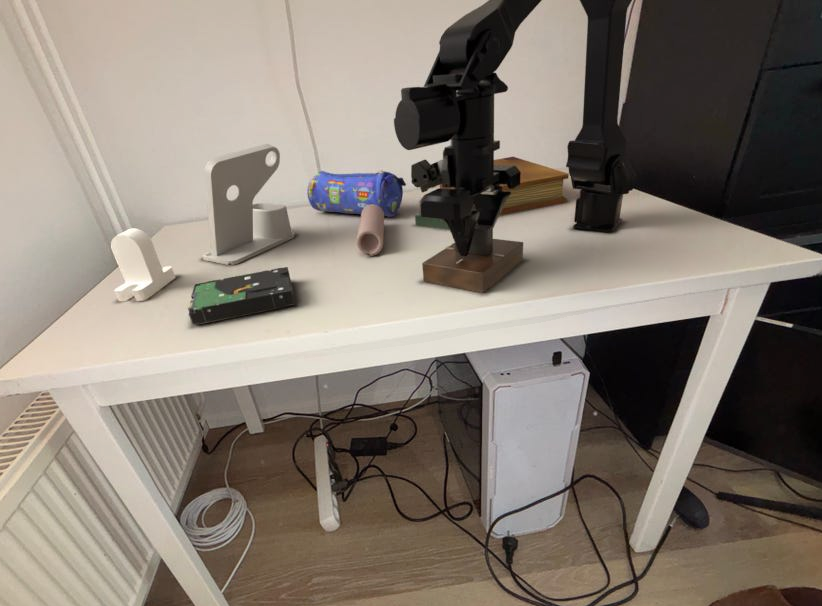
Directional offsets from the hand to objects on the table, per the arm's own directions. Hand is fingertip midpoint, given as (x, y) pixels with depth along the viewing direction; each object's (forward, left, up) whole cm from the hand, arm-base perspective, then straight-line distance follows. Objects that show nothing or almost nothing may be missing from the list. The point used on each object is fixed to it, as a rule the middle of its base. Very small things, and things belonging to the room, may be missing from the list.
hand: (473, 248), depth 73 cm
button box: (+17, -20, -4) cm, 26 cm away
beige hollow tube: (+25, -6, -4) cm, 26 cm away
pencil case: (+40, -19, -4) cm, 44 cm away
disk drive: (+26, +24, -4) cm, 36 cm away
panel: (0, 0, -4) cm, 4 cm away
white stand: (+48, +28, -4) cm, 56 cm away
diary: (+15, -38, -4) cm, 41 cm away
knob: (0, 0, 0) cm, 0 cm away
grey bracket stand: (+47, +6, -4) cm, 48 cm away
